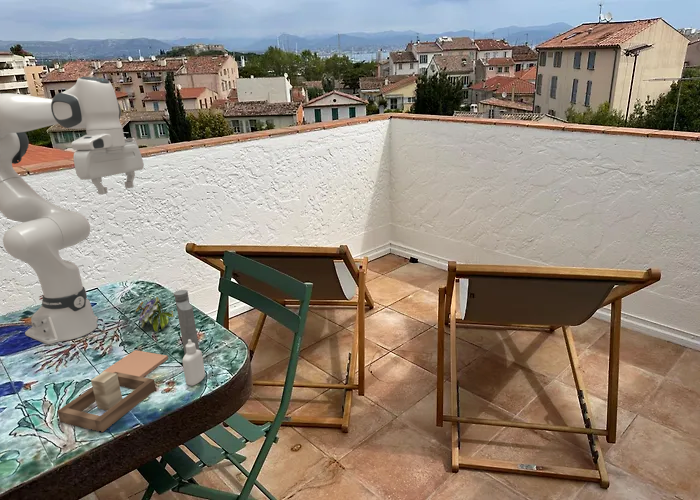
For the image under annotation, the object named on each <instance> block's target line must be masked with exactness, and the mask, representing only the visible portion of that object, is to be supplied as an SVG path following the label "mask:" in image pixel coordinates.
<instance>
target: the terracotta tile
mask: <svg viewBox="0 0 700 500" xmlns="http://www.w3.org/2000/svg"><path fill="white" fill-rule="evenodd" d="M167 360H169V355H168V354H167V355H165V354H159V353H154V352H150V351H149V352H148V351H143V350H136V349H135V350H134V351H132V352H130V353H128V354H126V355H125V356H124V357H122V358H121V359H119V360H118V361H116V362H114V364H112V365H110V366H109V367H108V368H106V369H103V371H102V372H104V371H106V372H111V373H114V372H118V373H124V374H129V375H134V376H139V377H144V378H145V377H146V376H147V375H148V374H150V373H152V372H153V371H154V370H155V369H157V368H158V367H159V366H161V365H162V364H163V363H164V362H166V361H167Z"/></svg>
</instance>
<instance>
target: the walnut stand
mask: <svg viewBox="0 0 700 500" xmlns="http://www.w3.org/2000/svg"><path fill="white" fill-rule="evenodd" d="M114 373H116V374H117V376H118V381H119V385H120V388H127V389H132V391H130V393H128V394H127V395H126V396H125V397H122V400H121V401H119V402H118V403H117V404H115V405H114V406H113V407H111V408H110V409H109V410H107V411H106V410H105V412H104V413H101V415H99V414H94V413H89V412H85V411H84V410H86V409H87V408H88V407H89V406H91V405H92V404H93V403H96V399H95V395H94V391H93V387H90V388H89V389H88V390H86V391H84V392H83V393H82V394H80V395H79V396H77V397H76V398H74V399H73V400H71V401H70V402H68V403H66V404H65V405H63V406H62V407H61V408H59V409H58V410H56V411H57V415H58V419H59V422H60V423H63V424H68V425H70V426H71V425H72V426H76V427H80V428H84V429H87V428H88V429H87V430H91V429H92V430H91V431H95V430H96V431H95V432H99V431H101V432H100V433H104V432H105V431H106V430H108V429H109V428H110V427H111V426H112V424H115V423H117V422H118V421H119V420H120V419H121V418H122V417H123V416H125V415H126V414H128V413H129V412H131V410H132V409H134V408H135V407H136V406H137V405H139V404H140V403H141V402H143V400H145V399H146V398H147V397H148V396H150V395H151V394H152V393H153V392H155V391H156V390H157V387H156V386H157V385H156V382H155V379H153V378H148V377H145V376H144V377H139V376H134V375H129V374H124V373H118V372H114ZM107 428H108V429H107Z"/></svg>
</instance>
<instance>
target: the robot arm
mask: <svg viewBox="0 0 700 500" xmlns="http://www.w3.org/2000/svg"><path fill="white" fill-rule="evenodd" d="M115 91H116V90H115V89H114V86H113V84H112V83H111V81H110V80H108V79H106V78H103V77H94V76H81V77H79V78H77V80H76V83H75V84H74V85H73V86H71V87H70V88H68V89H66V90H65V91H62V92H58V93H56V94H55V95H54V96H53V98H47V97H39V96H34V95H33V96H32V95H28V94H21V93H13V92H11V93H9V92H8V93H6V92H5V93H0V213H1V214H3V216H4V217H6V218H7V219H9V220H11V221H14V222H19V223H18V224H16V225H14V226H12V227H11V228H8V229H7V230H6V231H5V232H4V234H3V237H2V243H3V244H2V245H3V247H4V249H5V250H6V252H7V253H8V254H9V255H10V256H11V257H13V258H14V259H17V260H20V261H23V262H24V263H26V264H28V265H29V267H31V268H32V270H33V271H34V272H35V274H36V276H37V278H38V280H39V283H40V286H41V290H42V295H40V296H38V298H39V301H40V300H41V301H42V302H41V306H40V307H39V308H38V309H37V311H35V313H33V314H32V315H31V318H30V319H31V322H30V323H31V327H29V328H28V329H27V330H26V331H25V332H24V334H25V335H24V336H27V337H30V338H32V339H34V340H36V341H38V342H41V343H42V344H45V345H51V344H56V343H59V342H64V341H70V340H73V339H74V340H75V339H77V338H81V337H83V336H86V335H88V334H90V333H92V332H94V330H96V329H97V328H98V320H99V318H98V316H97V315H95V313H94V310H93V307H92V304H91V301H90V299H88V298H87V297H88V295H87V291H86V288H85V286H83V282H82V277H81V273H80V269H79V267H78V265H77V264H76V263H74V262H72V261H69V260H64V259H62V256H61V255H60V252H59V251H60V250H64V249H67V248H69V247H72V246H73V247H74V246H75V245H77V244H79V243H81V242H82V241H84V240H86V239H87V238H88V237H89V236H90V233H91V225H90V222H89V220H88V218H86V216H85V215H83V213H81V212H77V211H72V210H67V209H65V208H62V207H61V206H57V205H56V204H54V203H52V202H50V201H49V200H47V199H45V198H44V197H43V196H41V195H40V194H39V193H37V191H35V189H33V187H31V186H30V185H29V184H28V182H26V181H25V179H24V178H23V177H22V176H21V175H19V174H18V172H17V171H16V170H15V169H14V167H13V164H14V165H15V164H19V163H20V162H21V161H22V158H23V157H24V156H25V155H26V153H27V151H28V148H29V144H30V142H29V138H28V135H27V132H30V131H35V130H38V129H42V128H46V127H51V126H54V125H59V126H61V127H63V128H65V129H71V130H75V129H76V130H78V129H85V132H86V134H84V135H83V136H81V137H79V138H76V139H75V140H73V141H72V142H71V143H70V144H71V148H72V150H74V153H73V163H74V164H73V165H74V170H75V173H76V176H77V177H78V178H79V179H80V180H84V181H86V180H87V181H88V180H91V183H92V185H94V186H95V188H96V189H97V193H98V195H106V194H108V189H107V188H108V187H107V186H104V185H103V184H102V181H103V178H106V177H109V176H110V177H111V176H115V175H119V174H125V176H126V179H125V180H126V181H124V187H125V188H126V189H131V188H134V187H135V185H134V180H135V176H136V173H135V172H137V171H142V170H143V168H144V160H143V159H144V158H143V156H142V152H141V150H140V148H139V146H138V145H139V144H138V142H137V141H136V140H135V139H134V138H132V137H128V138H127V137H126V138H125V135H124V129H123V125H122V123H121V122H120V120H121V117H122V109H121V105H120V103H119V101H118V98H117V95H116V92H115Z"/></svg>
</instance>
